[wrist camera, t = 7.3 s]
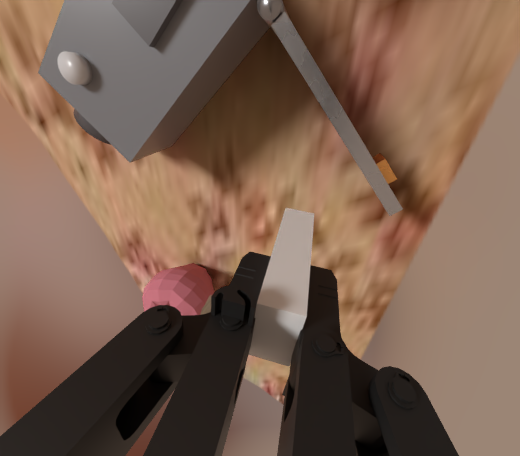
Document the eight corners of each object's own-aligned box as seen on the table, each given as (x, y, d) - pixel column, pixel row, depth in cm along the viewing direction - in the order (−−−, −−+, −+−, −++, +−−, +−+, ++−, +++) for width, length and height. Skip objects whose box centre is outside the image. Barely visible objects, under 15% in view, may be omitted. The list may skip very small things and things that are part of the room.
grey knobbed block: (200, -104, 17) (127, -222, 11) (281, 13, 20) (261, -26, 13) (96, 92, 26) (20, 94, 19) (161, 158, 28) (112, 180, 21)
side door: (272, 28, 20) (252, 2, 14) (292, 6, 19) (279, -31, 13) (370, 186, 24) (387, 218, 19) (391, 175, 24) (415, 204, 18)
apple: (221, 304, 38) (193, 365, 30) (170, 287, 39) (128, 342, 30) (230, 257, 33) (200, 315, 25) (171, 238, 34) (122, 289, 25)
